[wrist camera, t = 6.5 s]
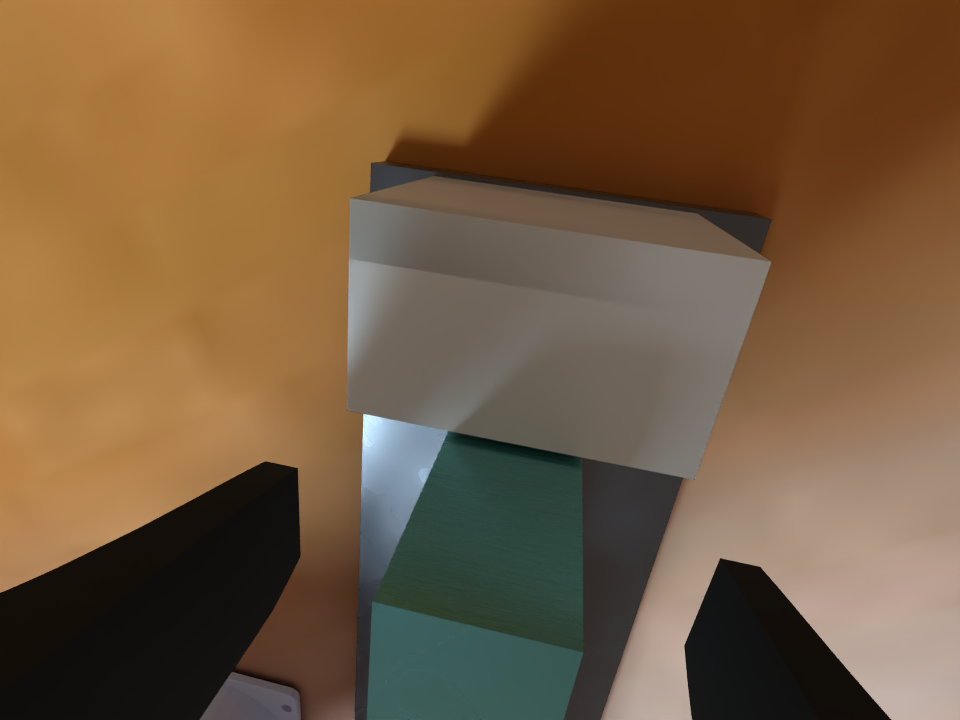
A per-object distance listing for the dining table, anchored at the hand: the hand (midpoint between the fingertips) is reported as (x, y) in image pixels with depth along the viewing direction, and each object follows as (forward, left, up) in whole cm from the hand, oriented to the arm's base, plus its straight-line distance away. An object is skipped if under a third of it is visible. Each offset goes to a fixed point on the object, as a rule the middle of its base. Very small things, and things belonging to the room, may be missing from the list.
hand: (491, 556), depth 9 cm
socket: (+3, 0, -8) cm, 9 cm away
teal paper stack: (-4, 0, -5) cm, 6 cm away
